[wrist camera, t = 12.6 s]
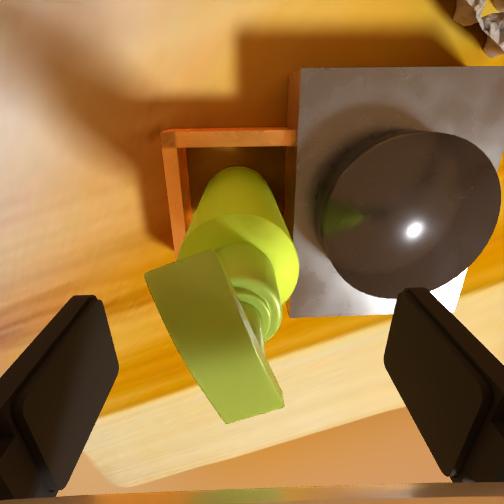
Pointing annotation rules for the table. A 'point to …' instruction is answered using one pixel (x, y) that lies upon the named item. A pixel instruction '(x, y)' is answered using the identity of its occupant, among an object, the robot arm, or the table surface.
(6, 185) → the table surface
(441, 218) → the grey block with dome
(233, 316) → the soap dispenser
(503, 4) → the egg carton
